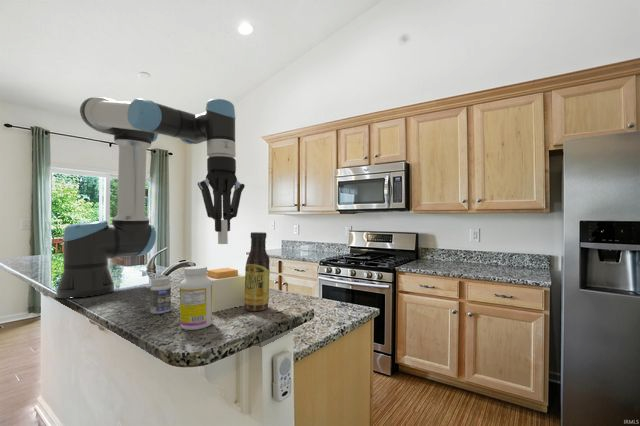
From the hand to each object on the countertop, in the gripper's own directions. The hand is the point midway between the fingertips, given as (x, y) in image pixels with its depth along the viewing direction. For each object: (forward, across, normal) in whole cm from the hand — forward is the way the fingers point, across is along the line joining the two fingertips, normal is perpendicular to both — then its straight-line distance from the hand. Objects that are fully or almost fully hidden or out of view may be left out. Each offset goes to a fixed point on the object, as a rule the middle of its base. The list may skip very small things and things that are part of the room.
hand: (222, 243), depth 88 cm
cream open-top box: (+17, 0, 0) cm, 17 cm away
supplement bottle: (+17, -12, -12) cm, 24 cm away
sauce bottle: (+17, +5, -10) cm, 20 cm away
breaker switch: (+10, 0, 0) cm, 10 cm away
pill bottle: (+17, -14, +6) cm, 23 cm away
